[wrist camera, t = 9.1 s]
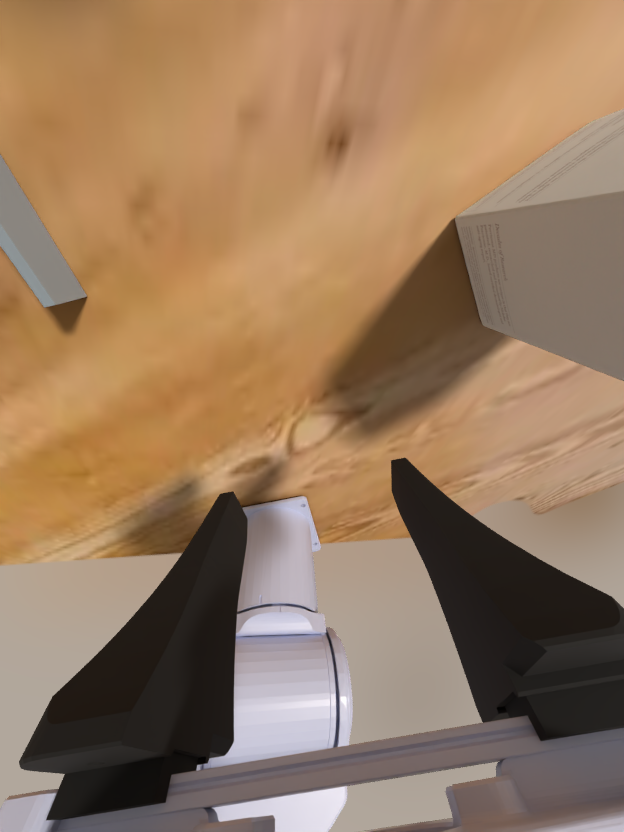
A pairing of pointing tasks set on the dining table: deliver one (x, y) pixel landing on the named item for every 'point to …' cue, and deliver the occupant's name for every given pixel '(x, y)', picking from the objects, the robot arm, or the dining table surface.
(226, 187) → the dining table surface
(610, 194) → the supplement box
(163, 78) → the dining table surface
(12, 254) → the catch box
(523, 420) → the dining table surface
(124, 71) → the dining table surface
